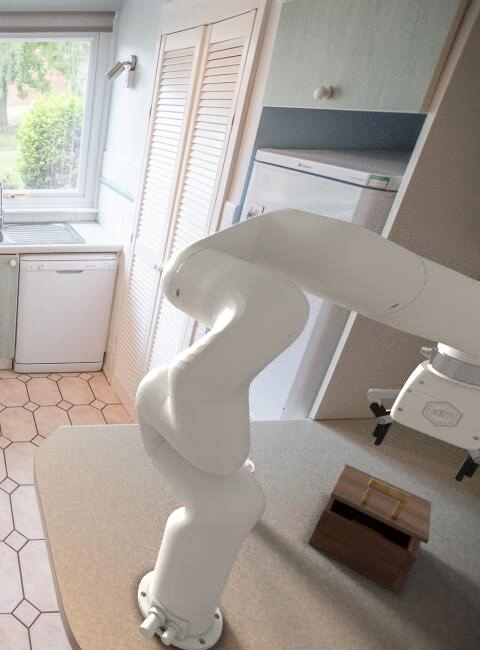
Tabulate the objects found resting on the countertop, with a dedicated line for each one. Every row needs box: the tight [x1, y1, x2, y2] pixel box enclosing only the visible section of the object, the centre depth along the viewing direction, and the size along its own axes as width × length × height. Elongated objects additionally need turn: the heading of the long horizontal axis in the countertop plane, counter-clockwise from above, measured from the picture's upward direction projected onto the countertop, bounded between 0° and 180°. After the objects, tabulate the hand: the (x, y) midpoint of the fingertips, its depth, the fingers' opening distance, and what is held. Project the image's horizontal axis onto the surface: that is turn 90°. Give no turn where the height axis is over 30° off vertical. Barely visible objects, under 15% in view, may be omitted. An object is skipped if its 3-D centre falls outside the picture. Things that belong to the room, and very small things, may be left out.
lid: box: [329, 463, 432, 545], centre depth 80 cm, size 16×13×5 cm
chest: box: [307, 496, 422, 593], centre depth 84 cm, size 16×13×9 cm
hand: (416, 458), depth 72 cm, fingers open, 9 cm apart
